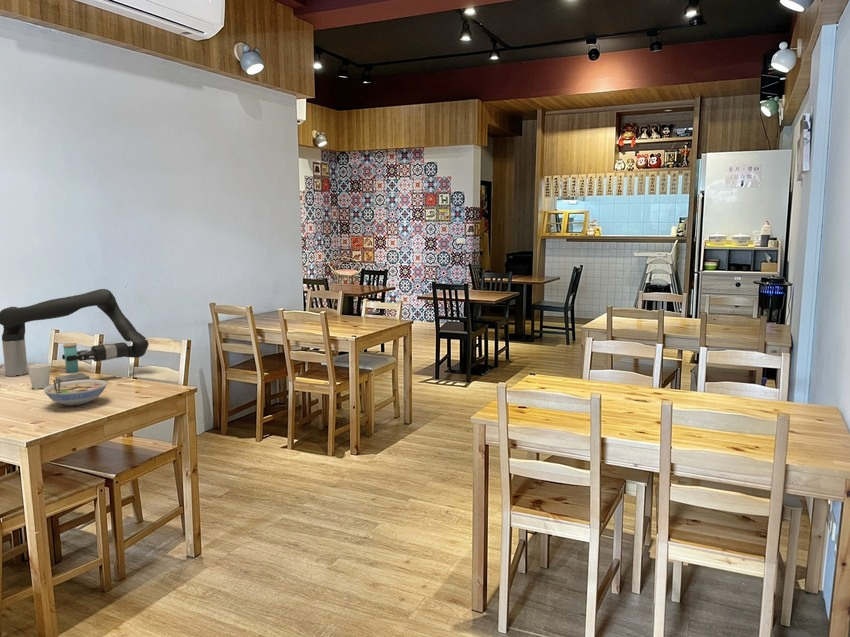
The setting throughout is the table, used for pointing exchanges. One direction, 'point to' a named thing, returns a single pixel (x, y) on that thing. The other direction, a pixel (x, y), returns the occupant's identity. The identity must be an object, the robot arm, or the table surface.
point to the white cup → (39, 375)
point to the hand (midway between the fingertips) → (64, 358)
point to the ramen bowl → (75, 391)
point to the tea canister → (70, 351)
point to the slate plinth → (72, 377)
